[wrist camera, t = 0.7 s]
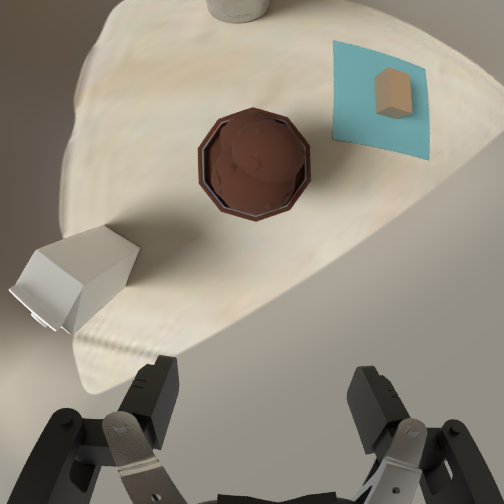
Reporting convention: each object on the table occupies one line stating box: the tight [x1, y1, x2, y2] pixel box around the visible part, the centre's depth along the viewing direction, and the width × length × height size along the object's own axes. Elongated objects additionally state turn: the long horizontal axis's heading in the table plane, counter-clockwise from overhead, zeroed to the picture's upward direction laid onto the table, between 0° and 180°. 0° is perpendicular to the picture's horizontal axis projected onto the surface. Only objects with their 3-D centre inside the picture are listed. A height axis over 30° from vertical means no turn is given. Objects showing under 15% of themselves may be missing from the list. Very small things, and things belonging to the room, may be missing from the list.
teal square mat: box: [333, 41, 429, 160], centre depth 29 cm, size 16×16×5 cm
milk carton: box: [9, 225, 140, 336], centre depth 28 cm, size 7×7×19 cm
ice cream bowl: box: [198, 107, 311, 222], centre depth 26 cm, size 11×11×15 cm
